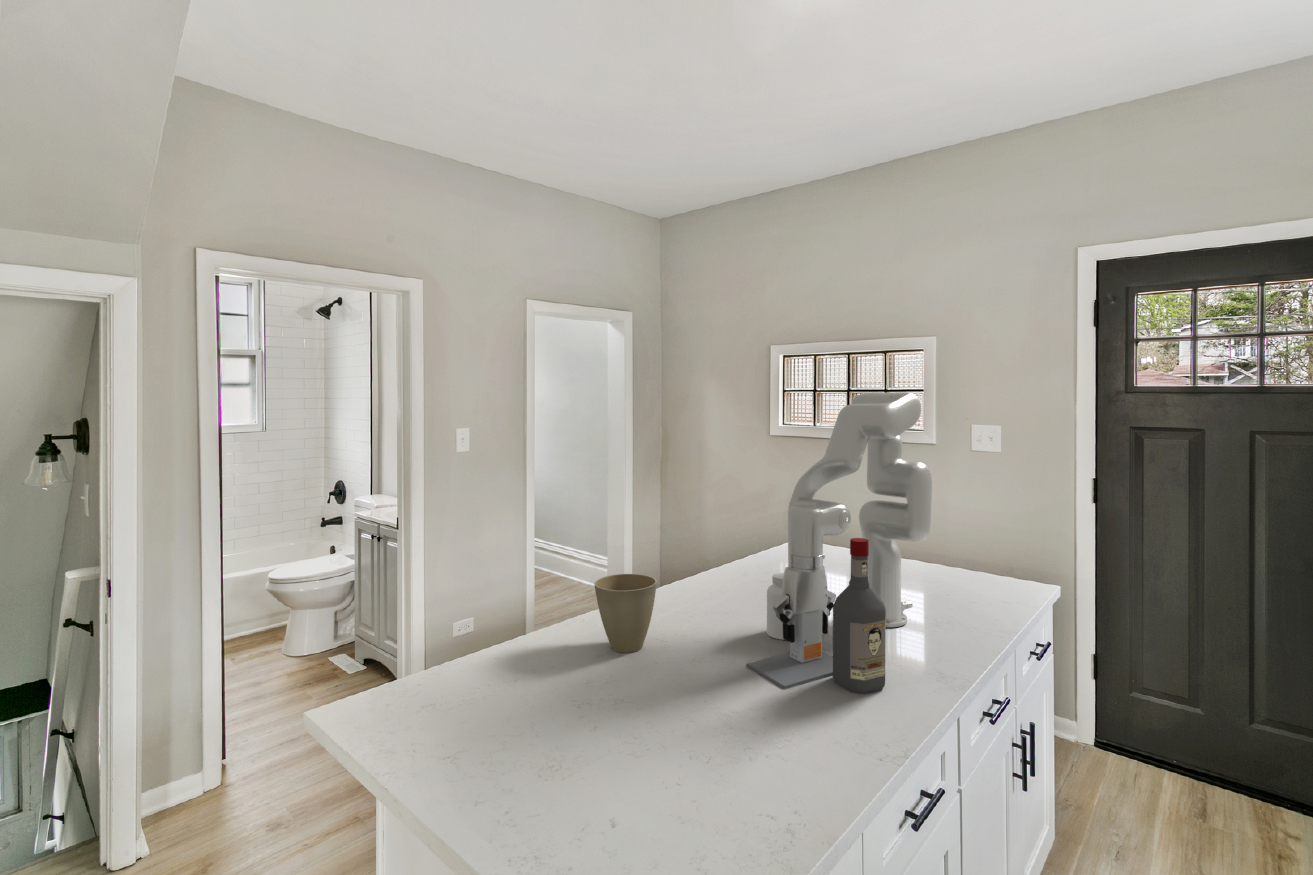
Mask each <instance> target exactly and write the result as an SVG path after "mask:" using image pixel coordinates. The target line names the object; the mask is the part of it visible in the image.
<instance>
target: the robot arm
mask: <svg viewBox="0 0 1313 875" xmlns="http://www.w3.org/2000/svg"><path fill="white" fill-rule="evenodd" d="M921 412H922V404H921V401H920V399H919V398H918V396H917V395H916V394H914V393H912V392H901V391H899V392H896V391H895V392H864V393H860V394H858V395H855V396H854V397H853V398H852V400H851V404H848V405H845V406H843V407H842V408H841V410H840V411H839V412H838V415H837V418H836V419H835V420H836V422H835V423H834V427H833V429H832V433H831V435H830V438H829V441H828V445H827V447H826V449H825V452H824V456H823V457H822V458H821V459H820V460H818V461H817V462H816V463H814V464H813V465H812V466H811V467H809V469H808V470H806V471H805V473H803V475H801V477H800V478H799V479H798V481H797V482H796V484H795V487H794V488H793V489H794V490H793V492H792V495H791V497H790V501H789V504H788V508H787V557H788V558H787V560H788V562H787V567H785V568H784V571H783V573H784V576H783V583H782V596H781V600H780V601H778V602H777V603H776V604H775V605H774V606H773V609H774V611H775V613H776V616H777V617H778V618H779V619H780V621H781V622H783V638H784V639H785V641H786V642H789V643H790V642H791V643H793V642H794V641H795V626H794V625H793V624H792V623H793V621H794V620H795V618H796V616H797V615H802V614H803V613H804V612H807V611H815V610H821V609H822V634H823V635H824V634H825V635H827V634H828V633H829V617H830V615H831V611H832V610H833V605H834V603H835V600H836V598H837V594H836V593H835V592H832V591H830V590H828V582H827V580H828V579H827V575H826V568H825V566H824V565H823V563H824V559H825V558H826V555H825V554H824V552H823V551H824V550H823V546H824V542H823V541H824V540H823V538H824V537H828V536H829V537H830V536H838V535H841V534H843V533H844V532H846V531H847V530H848V528H849V527H850V525H851V520H852V518H851V517H852V516H851V512H850V510H849V508H848V507H847V506H846V505H844V504H843V503H839V502H838V501H837V502H836V501H829V500H821V499H813V498H814V497H815V495H816V494H817V492H818V491H819V490H821V488H822V487H824V486H826V485H827V484H829V483H831V482H834V481H836V480H839V479H841V478H844V477H847V476H850V475H852V474H854V473H856V472H857V471H858V470H859V469H860V467H861V464H862V460H863V457H864V454H865V451H866V449H867V462H866V463H867V464H866V484H867V488H868V490H869V491H870V493H872V494H874V495H877V496H878V495H879V496H885V497H893V498H901V499H902V498H904V499H906V502H907V503H906V502H897V501H890V500H878V499H877V500H869V501H867V502H865V503H864V504H863V505H862V506H861V507H860V509H859V513H858V521H859V527H860V532H861V533H860V534H861V538H864V539H868V540H869V556H868V581H869V583H870V584H869V586H870V587H871V589H872V590H873V591H874V592H875V593H876V594H877V595H878V597H879V598H880V599H881V600H882V601H883V602H884V605H885V607H886V628H896V627H897V628H898V627H903V626H904V625H906V624H907V622H908V617H907V615H906V614H904V611H905V610H908V609H911V608H913V602H912V601H910V600H908V601H902V554H901V550H900V547H899V546H898V544H897V542H896V541H902V542H911V543H921V542H923V541H925V540H926V539H927V538H928V536H929V535H930V534H929V533H930V530H931V521H932V520H931V519H932V496H933V480H932V479H933V478H932V473H931V470H930V469H929V467H928V466H927V464H925V463H923V462H920V461H915V460H903V440H902V437H901V435H902V434H903V433H905V432H906V431H908V430H909V429H911V428H912V427H914V426H915V425H916V423H918V420H919V419H920V417H921V414H922V413H921ZM895 540H896V541H895ZM791 609H792V610H791ZM783 610H785V611H784V613H783ZM790 613H791V615H790V617H789V618H788V616H789V614H790Z"/></svg>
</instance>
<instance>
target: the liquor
mask: <svg viewBox="0 0 1313 875" xmlns="http://www.w3.org/2000/svg"><path fill="white" fill-rule="evenodd" d="M849 542H850V543H849V548H850V549H849V555H850V580H849V581H848V586H846V587H845V589H844V590H842V592H840V593H839V594H838V596H836V598H835V601H834V603H833V604H834V605H833V608H832V656H833V675H832V679H833V681H834V683H836V684H837V685H839V686H840V687H842V688H844V689H846V690H847V691H849V692H850V693H856V694H867V693H871V692H876V691H880V690H883V689H884V687H885V685H886V644H887V642H886V641H887V640H886V638H887V637H886V633H887V632H886V628H887V627H886V607H885V605H884V602H883V601H882V600H881V599H880V598H879V597H878V595H877V594H876V593H875V592H874V591H873V590H872V589H871V587H870V586H869V584H870V583H869V581H868V556H869V540H868V539H864V538H862V537H852V538H850V540H849Z"/></svg>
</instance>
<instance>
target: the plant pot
mask: <svg viewBox="0 0 1313 875" xmlns="http://www.w3.org/2000/svg"><path fill="white" fill-rule="evenodd" d="M656 591H657V579H656V578H655V577H653V576H650V575H647V574H642V573H641V574H640V573H619V574H611V575H606V576H602V577H600V578H598V579H596V580H595V581H594V592H595V597H596V602H597V606H598V611H599V615H600V618H601V622H602V625H603V626H602V627H603V629H604V632H605V635H606V637H607V640H608V643H609V645H610V648H611V649H612V650H613V651H615V652H617V653H618V652H619V653H634V652H638V651H640V650H641V649H642V648H643V646H644V643H645V640H646V637H647V634H648V630H649V627H650V624H651V620H652V615H653V611H654V606H655V601H656V600H655V598H656Z"/></svg>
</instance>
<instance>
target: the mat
mask: <svg viewBox="0 0 1313 875" xmlns="http://www.w3.org/2000/svg"><path fill="white" fill-rule="evenodd" d="M746 667H747V668H749V669H751V670H752V671H754V672H756V674H758V675H761V676H762V677H763V678H765V679H767V680H769V681H770V682H772V683H774V684H776V685H777V686H779V687H780V688H782V689H784V690H786V689H789V688H793V687H797V686H799V685H804V684H806V683H811V682H813V681H817V680H820V679H823V678H827V677H830V676H833V655H831V654H829V653H827V652H825V651H823V650H822V658H820V659H815V660H811V661H807V662H804V663H801V662H799V661H797V660H795V659H793V658H791V657H790V651H789V652H788V651H787V652H786V653H785V652H784V653H782V654H778V655H777V654H776V655H774V656H773V655H772V656H770V657H766V658H762V659H757V660H754V661H750V662H747V663H746Z"/></svg>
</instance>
